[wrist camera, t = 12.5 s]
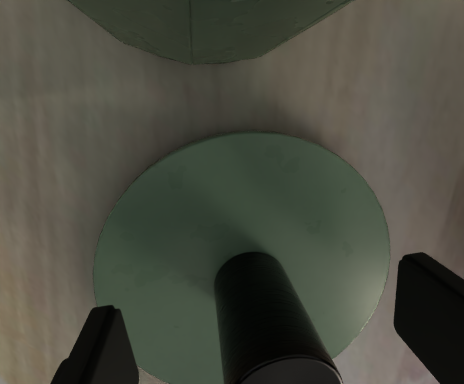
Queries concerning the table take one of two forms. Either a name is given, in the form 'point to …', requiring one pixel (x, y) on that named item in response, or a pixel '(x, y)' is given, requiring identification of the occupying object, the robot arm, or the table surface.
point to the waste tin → (207, 25)
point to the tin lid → (244, 261)
